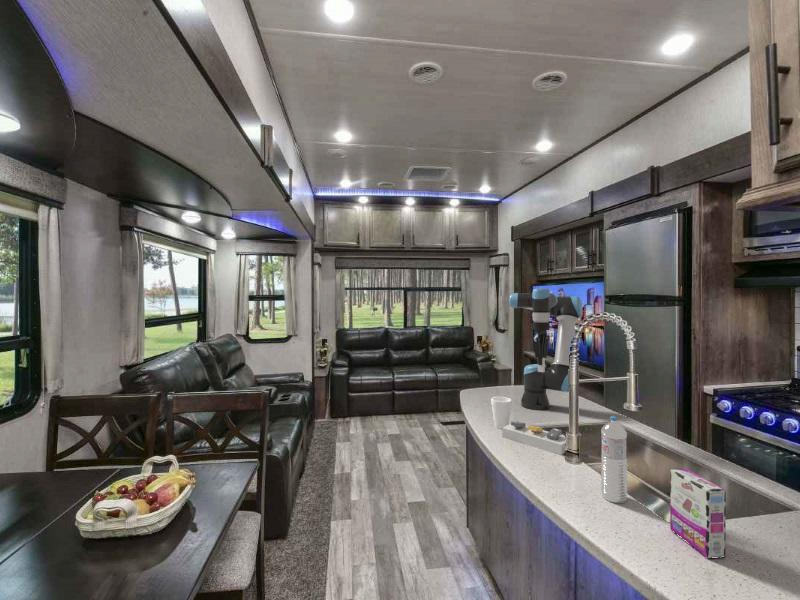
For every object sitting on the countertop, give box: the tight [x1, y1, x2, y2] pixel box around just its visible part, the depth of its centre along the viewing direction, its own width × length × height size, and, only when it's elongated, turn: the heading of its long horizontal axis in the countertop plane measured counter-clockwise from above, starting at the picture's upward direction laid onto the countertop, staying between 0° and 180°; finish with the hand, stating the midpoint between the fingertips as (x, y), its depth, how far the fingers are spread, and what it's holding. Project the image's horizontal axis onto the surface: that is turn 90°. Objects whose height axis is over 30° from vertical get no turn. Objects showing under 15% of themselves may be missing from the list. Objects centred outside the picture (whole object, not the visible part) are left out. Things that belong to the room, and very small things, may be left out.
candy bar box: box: [669, 468, 727, 559], centre depth 92 cm, size 11×5×16 cm, turn 5°
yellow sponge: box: [527, 425, 544, 432], centre depth 156 cm, size 6×4×2 cm, turn 134°
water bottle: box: [600, 415, 628, 504], centre depth 113 cm, size 7×7×25 cm
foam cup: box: [490, 396, 512, 430], centre depth 175 cm, size 10×9×13 cm
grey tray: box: [501, 423, 589, 458], centre depth 153 cm, size 10×34×5 cm, turn 43°
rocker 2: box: [547, 427, 563, 440], centre depth 150 cm, size 6×4×2 cm, turn 133°
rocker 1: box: [510, 421, 526, 427], centre depth 162 cm, size 6×4×2 cm, turn 134°
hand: (541, 371), depth 173 cm, fingers closed
